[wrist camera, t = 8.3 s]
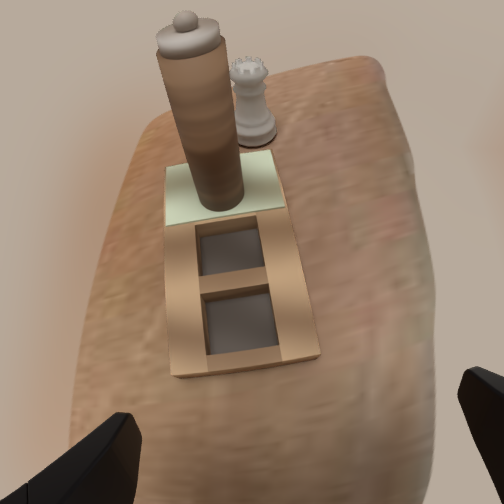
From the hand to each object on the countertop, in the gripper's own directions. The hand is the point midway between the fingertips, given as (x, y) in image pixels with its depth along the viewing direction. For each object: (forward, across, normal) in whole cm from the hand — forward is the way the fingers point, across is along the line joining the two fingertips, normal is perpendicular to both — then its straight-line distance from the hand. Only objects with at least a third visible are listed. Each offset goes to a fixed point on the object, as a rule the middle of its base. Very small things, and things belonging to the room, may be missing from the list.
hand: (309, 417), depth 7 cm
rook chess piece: (+26, 0, -8) cm, 27 cm away
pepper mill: (+18, +3, -4) cm, 19 cm away
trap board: (+17, +3, +1) cm, 17 cm away
